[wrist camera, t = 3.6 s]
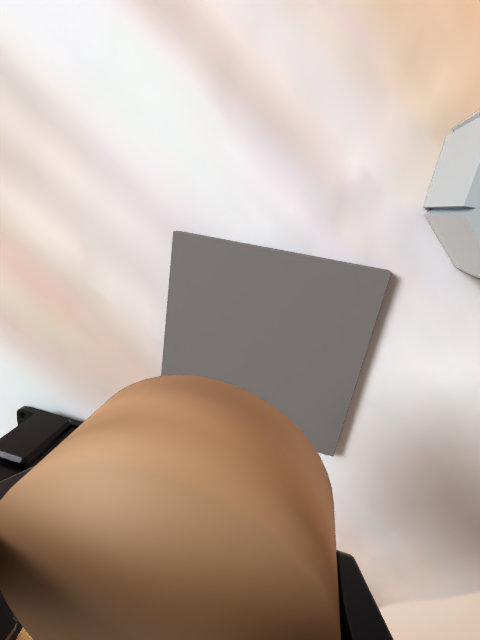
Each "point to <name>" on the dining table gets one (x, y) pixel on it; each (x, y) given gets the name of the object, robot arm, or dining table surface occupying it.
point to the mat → (272, 326)
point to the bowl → (458, 196)
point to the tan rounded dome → (174, 523)
